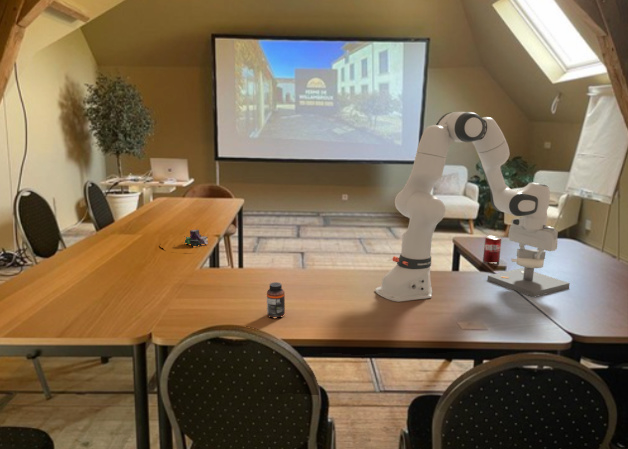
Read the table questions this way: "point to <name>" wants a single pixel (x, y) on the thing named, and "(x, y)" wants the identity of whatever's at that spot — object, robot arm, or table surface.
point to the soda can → (492, 249)
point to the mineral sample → (196, 238)
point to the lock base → (528, 281)
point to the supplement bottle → (275, 300)
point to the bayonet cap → (529, 258)
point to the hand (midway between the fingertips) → (530, 256)
